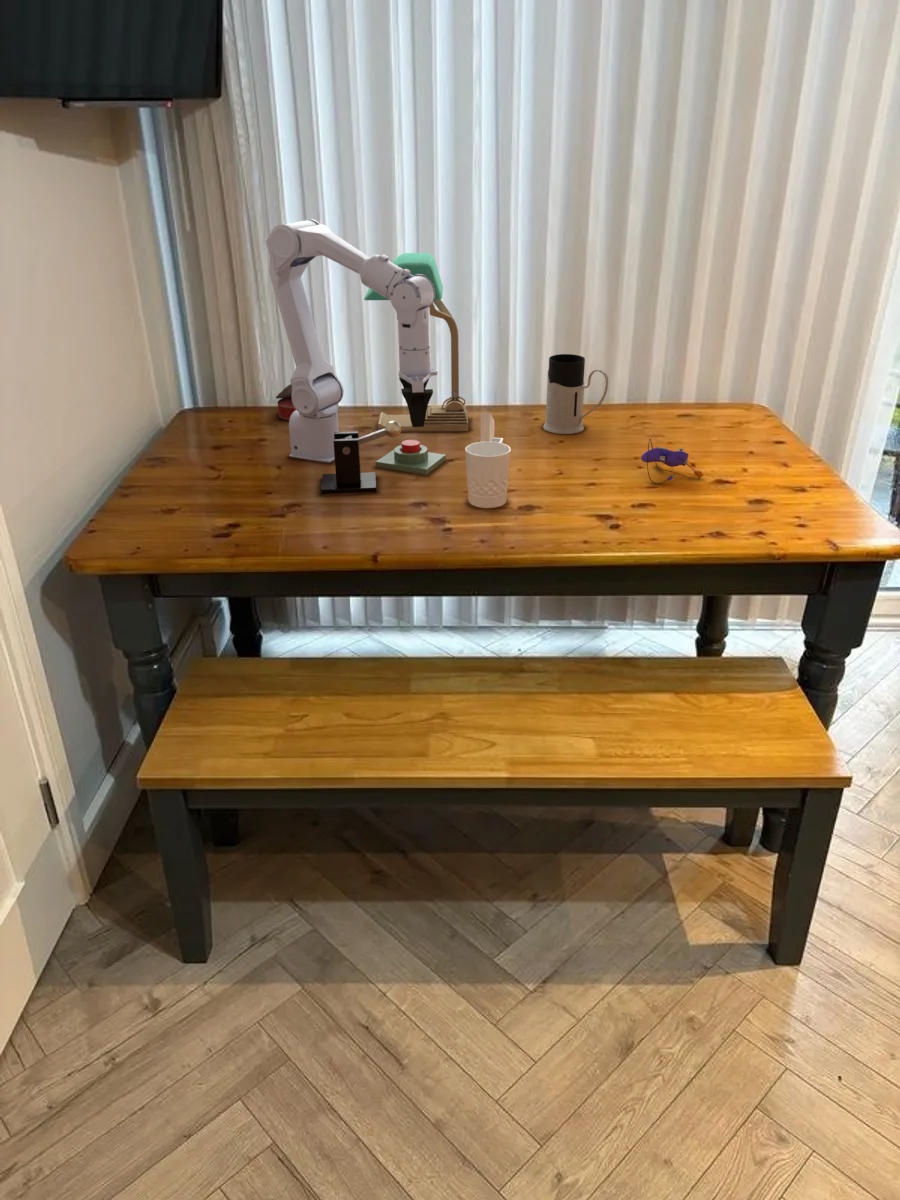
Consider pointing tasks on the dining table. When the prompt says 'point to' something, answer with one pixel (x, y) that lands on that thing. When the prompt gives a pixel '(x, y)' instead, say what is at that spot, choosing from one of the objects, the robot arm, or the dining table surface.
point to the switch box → (411, 460)
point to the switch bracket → (347, 468)
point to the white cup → (487, 473)
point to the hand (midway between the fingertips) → (416, 420)
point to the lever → (380, 433)
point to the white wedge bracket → (487, 428)
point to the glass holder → (567, 394)
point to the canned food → (285, 403)
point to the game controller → (666, 458)
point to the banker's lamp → (454, 410)
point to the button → (410, 446)
